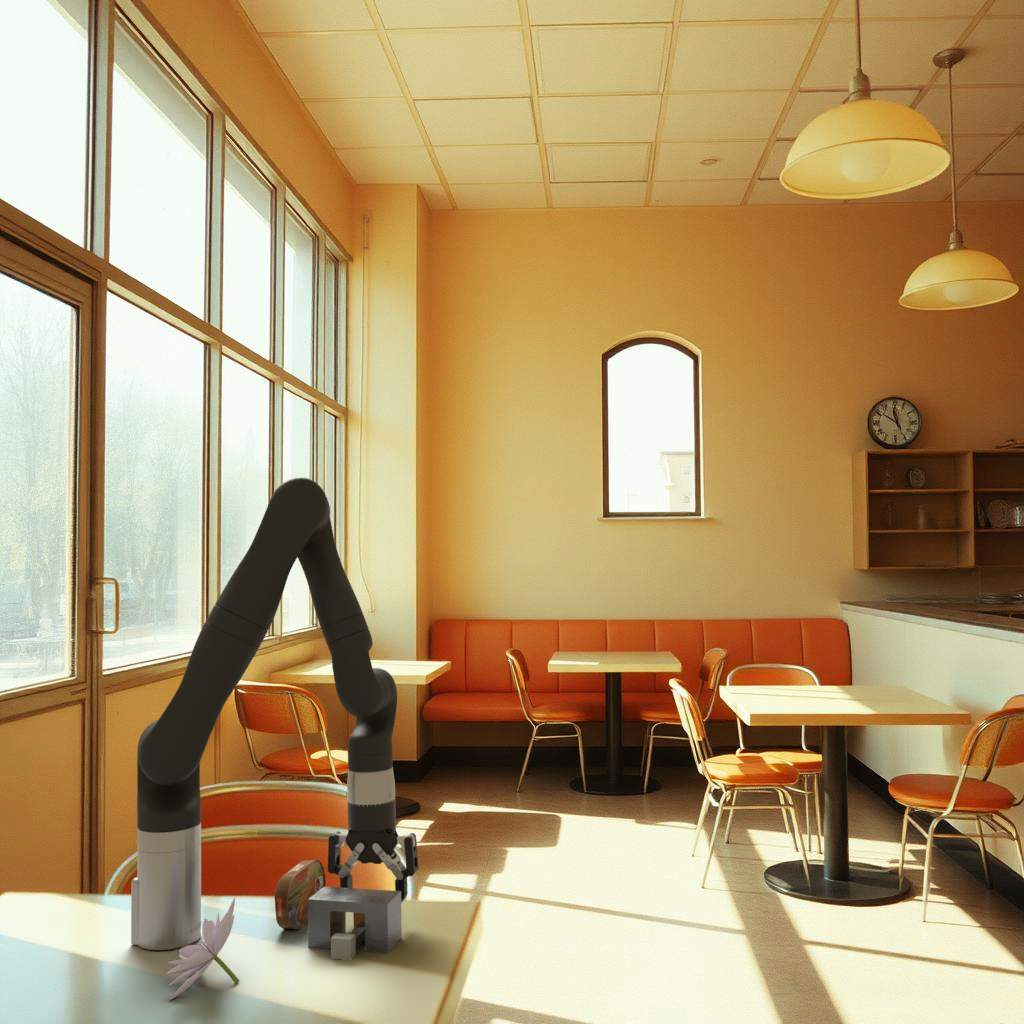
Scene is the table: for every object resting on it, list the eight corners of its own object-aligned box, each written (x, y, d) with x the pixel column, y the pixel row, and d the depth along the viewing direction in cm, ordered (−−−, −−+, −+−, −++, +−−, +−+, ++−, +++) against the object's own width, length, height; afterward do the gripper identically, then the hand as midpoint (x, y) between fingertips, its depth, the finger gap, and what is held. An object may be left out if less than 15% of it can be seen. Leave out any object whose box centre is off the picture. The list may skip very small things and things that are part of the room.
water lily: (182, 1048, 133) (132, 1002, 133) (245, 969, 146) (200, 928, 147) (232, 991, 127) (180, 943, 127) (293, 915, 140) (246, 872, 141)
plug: (327, 959, 144) (327, 930, 144) (364, 920, 160) (364, 895, 160) (354, 960, 143) (353, 932, 144) (388, 922, 159) (388, 896, 159)
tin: (290, 937, 153) (289, 881, 154) (271, 936, 154) (270, 880, 154) (327, 904, 168) (327, 853, 168) (309, 903, 169) (309, 852, 169)
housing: (308, 947, 149) (307, 899, 149) (324, 932, 155) (324, 886, 155) (388, 953, 146) (387, 904, 146) (401, 938, 152) (401, 891, 152)
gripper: (421, 792, 161) (424, 895, 160) (337, 790, 164) (340, 891, 163) (407, 803, 153) (410, 911, 153) (319, 802, 156) (322, 907, 156)
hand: (373, 901), depth 158 cm, fingers open, 8 cm apart
